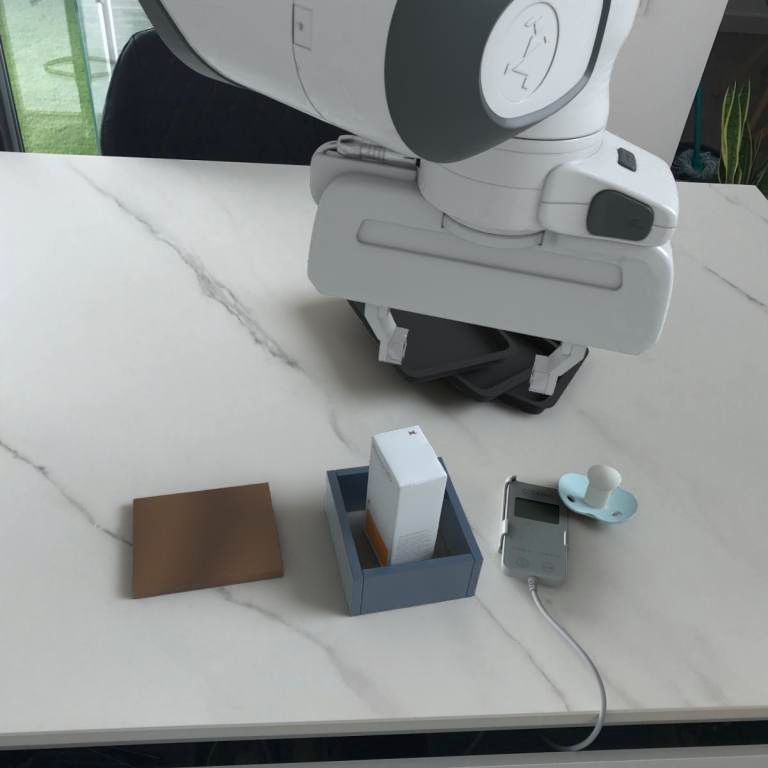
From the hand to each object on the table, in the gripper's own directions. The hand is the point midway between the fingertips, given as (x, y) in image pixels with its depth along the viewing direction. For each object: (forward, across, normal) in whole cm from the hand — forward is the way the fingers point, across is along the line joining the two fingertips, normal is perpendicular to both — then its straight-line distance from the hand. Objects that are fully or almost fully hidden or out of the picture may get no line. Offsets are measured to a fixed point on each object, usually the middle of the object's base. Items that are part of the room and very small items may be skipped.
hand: (465, 372), depth 48 cm
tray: (+24, -3, +34) cm, 42 cm away
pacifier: (+24, +14, +15) cm, 32 cm away
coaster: (+24, -19, +1) cm, 31 cm away
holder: (+24, -3, +5) cm, 25 cm away
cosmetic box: (+24, -3, +5) cm, 25 cm away
